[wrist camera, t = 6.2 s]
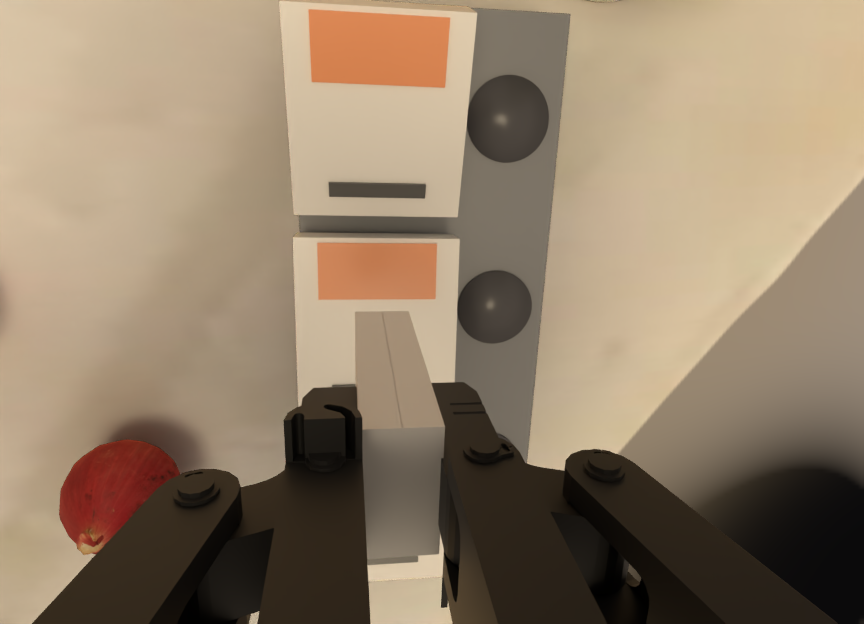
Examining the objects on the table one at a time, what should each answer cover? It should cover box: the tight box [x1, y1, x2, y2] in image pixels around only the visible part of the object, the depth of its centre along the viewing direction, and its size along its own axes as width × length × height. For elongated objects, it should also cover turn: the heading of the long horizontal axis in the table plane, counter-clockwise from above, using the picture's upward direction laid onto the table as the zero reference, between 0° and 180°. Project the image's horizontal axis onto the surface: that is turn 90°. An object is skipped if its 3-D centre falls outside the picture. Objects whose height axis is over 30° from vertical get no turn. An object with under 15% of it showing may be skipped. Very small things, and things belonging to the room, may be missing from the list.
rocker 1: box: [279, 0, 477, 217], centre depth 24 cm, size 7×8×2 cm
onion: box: [59, 440, 180, 555], centre depth 31 cm, size 6×6×8 cm
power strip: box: [299, 8, 570, 464], centre depth 32 cm, size 12×31×6 cm, turn 178°
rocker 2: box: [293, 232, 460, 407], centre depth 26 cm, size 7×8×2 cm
